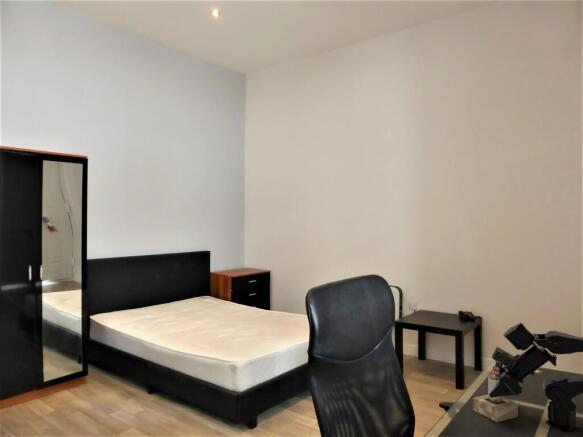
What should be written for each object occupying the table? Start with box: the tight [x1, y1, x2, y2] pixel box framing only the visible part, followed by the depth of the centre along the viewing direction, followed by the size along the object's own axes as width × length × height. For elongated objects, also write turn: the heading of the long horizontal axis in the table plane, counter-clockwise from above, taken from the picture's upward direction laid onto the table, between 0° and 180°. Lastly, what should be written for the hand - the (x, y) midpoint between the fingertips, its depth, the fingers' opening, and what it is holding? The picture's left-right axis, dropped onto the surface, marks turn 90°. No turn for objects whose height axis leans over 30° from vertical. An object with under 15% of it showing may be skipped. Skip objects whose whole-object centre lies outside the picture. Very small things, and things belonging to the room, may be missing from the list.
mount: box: [472, 394, 519, 423], centre depth 133 cm, size 9×9×4 cm
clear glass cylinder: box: [486, 371, 503, 405], centre depth 133 cm, size 4×4×12 cm
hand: (490, 391), depth 134 cm, fingers open, 9 cm apart
